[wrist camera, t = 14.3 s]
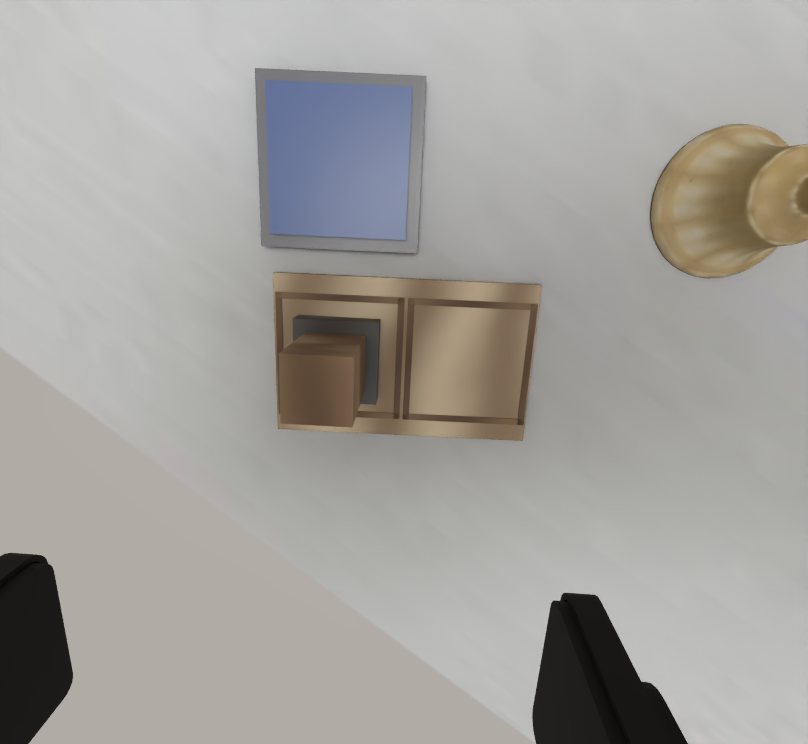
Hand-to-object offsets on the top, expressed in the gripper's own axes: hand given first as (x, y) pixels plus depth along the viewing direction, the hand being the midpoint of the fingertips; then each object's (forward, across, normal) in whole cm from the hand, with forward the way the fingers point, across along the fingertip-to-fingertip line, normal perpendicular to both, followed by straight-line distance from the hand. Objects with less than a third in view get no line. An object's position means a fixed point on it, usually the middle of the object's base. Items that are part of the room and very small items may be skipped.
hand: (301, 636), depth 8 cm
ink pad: (+21, +3, -11) cm, 24 cm away
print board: (+21, -1, 0) cm, 21 cm away
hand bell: (+22, -19, -10) cm, 31 cm away
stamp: (+20, +3, 0) cm, 21 cm away
